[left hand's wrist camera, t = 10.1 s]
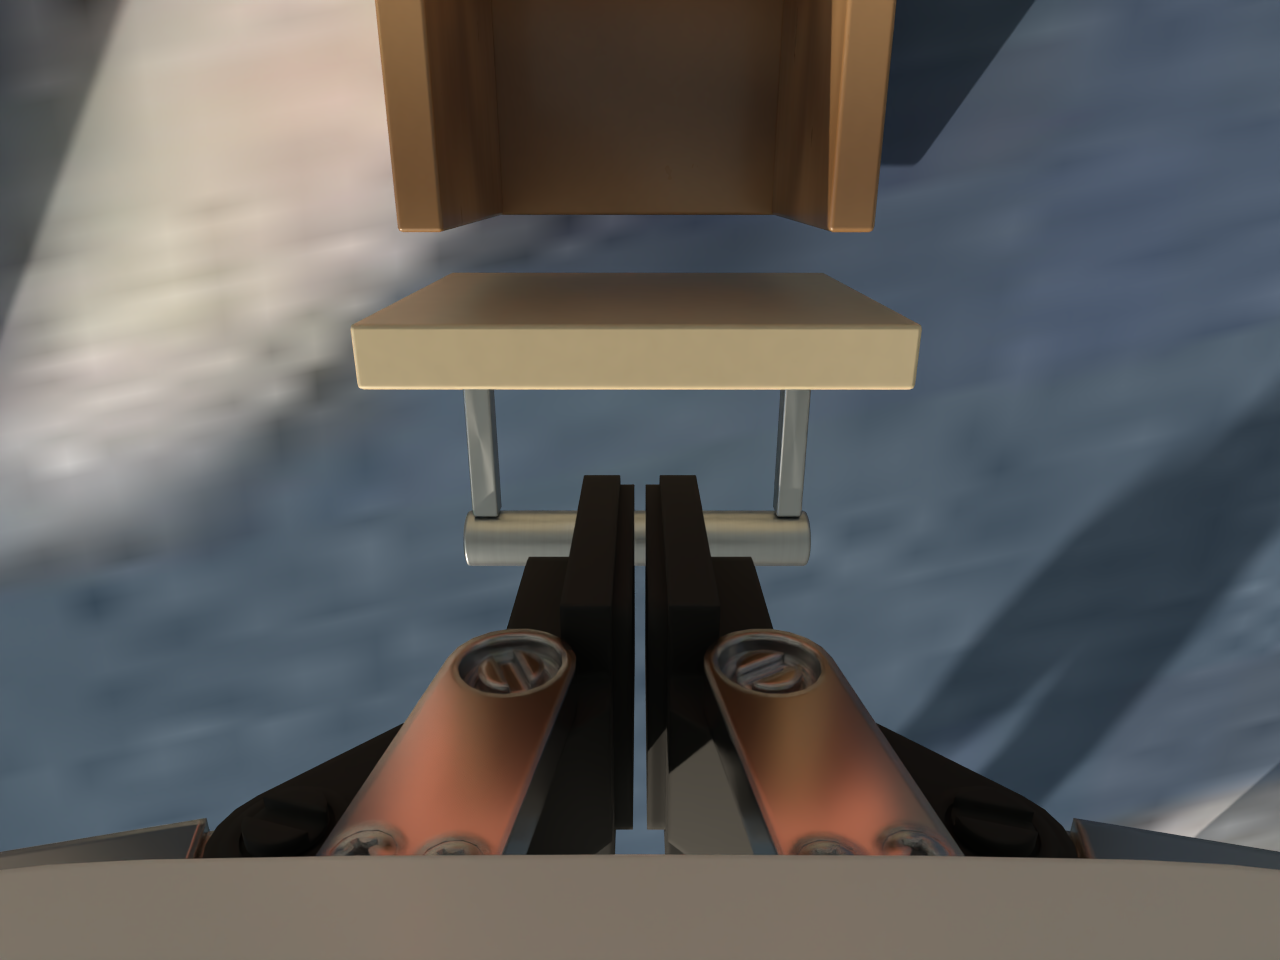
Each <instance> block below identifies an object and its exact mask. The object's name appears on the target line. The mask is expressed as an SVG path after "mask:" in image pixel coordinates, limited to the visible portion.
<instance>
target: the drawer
mask: <svg viewBox="0 0 1280 960" xmlns="http://www.w3.org/2000/svg"><path fill="white" fill-rule="evenodd" d="M896 1H897V0H375V6H376V16H377V25H378V35H379V45H380V55H381V65H382V75H383V85H384V94H385V104H386V114H387V124H388V134H389V144H390V154H391V164H392V173H393V183H394V193H395V203H396V213H397V223H398V228H399V230H400V231H402V232H441V231H445V230H449V229H452V228H456V227H459V226H463V225H466V224H470V223H473V222H477V221H480V220H484V219H488V218H491V217H495V216H498V215H777V216H780V217H784V218H787V219H790V220H794V221H797V222H801V223H804V224H807V225H811V226H814V227H818V228H821V229H824V230H828V231H831V232H870V231H872V230H873V228H874V224H875V214H876V204H877V194H878V184H879V174H880V163H881V153H882V143H883V133H884V123H885V113H886V103H887V93H888V82H889V72H890V62H891V52H892V42H893V32H894V22H895V11H896ZM921 331H922V328H921V325H919V324H917V323H915V322H914V321H912V320H910V319H908V318H906V317H904V316H902V315H901V314H899V313H897V312H895V311H893V310H891V309H889V308H887V307H886V306H884V305H882V304H880V303H878V302H876V301H874V300H872V299H871V298H869V297H867V296H865V295H863V294H861V293H859V292H858V291H856V290H854V289H852V288H850V287H848V286H846V285H844V284H843V283H841V282H839V281H837V280H835V279H833V278H831V277H829V276H828V275H826V274H824V273H451V274H449V275H447V276H445V277H444V278H442V279H440V280H438V281H436V282H434V283H432V284H430V285H428V286H426V287H424V288H422V289H420V290H418V291H417V292H415V293H413V294H411V295H409V296H407V297H405V298H403V299H401V300H399V301H397V302H395V303H393V304H391V305H390V306H388V307H386V308H384V309H382V310H380V311H378V312H376V313H374V314H372V315H370V316H368V317H366V318H364V319H363V320H361V321H359V322H357V323H355V324H353V325H352V326H351V335H352V343H353V351H354V359H355V367H356V374H357V382H358V386H359V388H362V389H463V395H464V407H465V420H466V432H467V445H468V457H469V470H470V483H471V495H472V508H473V511H470V512H468V514H467V517H466V520H465V525H464V554H465V558H466V561H467V564H468V565H470V566H526V562H527V560H528V557H569V553H570V548H571V543H572V537H573V532H574V527H575V521H576V516H577V511H500V509H501V507H502V506H501V491H500V475H499V460H498V445H497V430H496V414H495V399H494V389H781V390H780V406H779V421H778V437H777V453H776V469H775V484H774V500H773V507H774V510H775V511H703V516H704V521H705V527H706V532H707V537H708V543H709V548H710V553H711V557H752V560H753V562H754V566H804V565H806V564H807V563H808V560H809V556H810V548H811V532H810V523H809V519H808V516H807V513H806V512H804V511H802V498H803V485H804V472H805V459H806V446H807V433H808V420H809V407H810V394H811V389H912V388H914V385H915V380H916V371H917V363H918V355H919V347H920V339H921ZM634 566H646V511H634Z"/></svg>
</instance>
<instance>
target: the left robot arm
mask: <svg viewBox="0 0 1280 960" xmlns="http://www.w3.org/2000/svg"><path fill="white" fill-rule="evenodd" d="M634 677H635V567H634V485H620V475H584V479H583V484H582V489H581V495H580V500H579V505H578V511H577V516H576V521H575V527H574V532H573V537H572V543H571V548H570V553H569V557H528V560H527V562H526V566H525V569H524V572H523V576H522V579H521V583H520V586H519V589H518V593H517V596H516V600H515V603H514V606H513V610H512V613H511V617H510V620H509V623H508V627H507V629H506V630H500V631H494V632H490V633H487V634H484V635H481V636H478V637H475V638H473V639H471V640H469V641H467V642H466V643H464V644H462V645H461V646H459V647H458V648H457V649H456V650H455V651H454V652H453V653H452V654H451V655H450V656H449V657H448V658H447V660H446V661H445V663H444V664H443V666H442V667H441V669H440V670H439V672H438V673H437V675H436V676H435V678H434V679H433V681H432V682H431V684H430V685H429V687H428V688H427V690H426V691H425V693H424V694H423V696H422V697H421V699H420V700H419V702H418V703H417V705H416V706H415V708H414V709H413V711H412V712H411V714H410V715H409V717H408V718H407V720H406V721H405V723H403V724H401V725H399V726H397V727H395V728H393V729H391V730H389V731H387V732H385V733H383V734H381V735H379V736H377V737H375V738H373V739H371V740H369V741H367V742H365V743H363V744H361V745H359V746H357V747H355V748H353V749H351V750H349V751H347V752H345V753H343V754H341V755H339V756H337V757H335V758H333V759H331V760H328V761H326V762H324V763H322V764H320V765H318V766H316V767H314V768H312V769H310V770H308V771H306V772H304V773H302V774H300V775H298V776H296V777H294V778H292V779H290V780H288V781H286V782H284V783H282V784H280V785H278V786H276V787H274V788H272V789H270V790H268V791H266V792H264V793H262V794H260V795H258V796H257V797H255V798H253V799H252V800H250V801H248V802H247V803H245V804H244V805H242V806H240V807H239V808H237V809H236V810H234V811H233V812H232V813H231V814H230V815H229V816H228V817H227V818H226V819H225V820H224V821H223V822H221V823H220V824H219V825H218V826H217V828H216V829H215V831H209V827H208V822H207V818H203V819H197V820H191V821H185V822H179V823H173V824H167V825H161V826H155V827H149V828H143V829H137V830H131V831H124V832H118V833H112V834H106V835H100V836H94V837H88V838H82V839H76V840H70V841H64V842H58V843H52V844H45V845H39V846H33V847H27V848H21V849H15V850H9V851H3V852H0V960H1280V852H1277V851H1271V850H1265V849H1259V848H1253V847H1247V846H1241V845H1235V844H1228V843H1222V842H1216V841H1210V840H1204V839H1198V838H1192V837H1186V836H1180V835H1174V834H1168V833H1162V832H1156V831H1149V830H1143V829H1137V828H1131V827H1125V826H1119V825H1113V824H1107V823H1101V822H1095V821H1089V820H1083V819H1077V818H1073V822H1072V827H1071V831H1065V829H1064V828H1063V826H1062V825H1061V824H1060V823H1059V822H1057V821H1056V820H1055V819H1054V818H1053V817H1052V816H1051V815H1050V814H1049V813H1048V812H1047V811H1046V810H1044V809H1043V808H1041V807H1040V806H1038V805H1036V804H1035V803H1033V802H1032V801H1030V800H1028V799H1027V798H1025V797H1023V796H1022V795H1020V794H1018V793H1016V792H1014V791H1012V790H1010V789H1008V788H1006V787H1004V786H1002V785H1000V784H998V783H996V782H994V781H992V780H990V779H988V778H986V777H984V776H982V775H980V774H978V773H976V772H974V771H972V770H970V769H968V768H966V767H964V766H962V765H960V764H958V763H956V762H954V761H952V760H949V759H947V758H945V757H943V756H941V755H939V754H937V753H935V752H933V751H931V750H929V749H927V748H925V747H923V746H921V745H919V744H917V743H915V742H913V741H911V740H909V739H907V738H905V737H903V736H901V735H899V734H897V733H895V732H893V731H891V730H889V729H887V728H885V727H883V726H881V725H879V724H877V723H875V721H874V720H873V718H872V717H871V715H870V714H869V712H868V711H867V709H866V708H865V706H864V705H863V703H862V702H861V700H860V699H859V697H858V696H857V694H856V693H855V691H854V690H853V688H852V687H851V685H850V684H849V682H848V681H847V679H846V678H845V676H844V675H843V673H842V672H841V670H840V669H839V667H838V666H837V664H836V663H835V661H834V660H833V658H832V657H831V656H830V655H829V654H828V653H827V652H826V651H825V650H824V649H823V648H822V647H821V646H819V645H818V644H816V643H814V642H813V641H811V640H809V639H807V638H805V637H802V636H799V635H796V634H793V633H790V632H786V631H780V630H774V629H773V627H772V623H771V620H770V617H769V613H768V610H767V606H766V603H765V600H764V596H763V593H762V589H761V586H760V583H759V579H758V576H757V572H756V569H755V566H754V562H753V560H752V557H711V553H710V548H709V543H708V537H707V532H706V527H705V521H704V516H703V511H702V505H701V500H700V495H699V489H698V484H697V479H696V475H660V485H646V567H645V677H646V769H647V829H664V837H665V855H650V854H630V855H615V837H616V829H633V768H634Z"/></svg>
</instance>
